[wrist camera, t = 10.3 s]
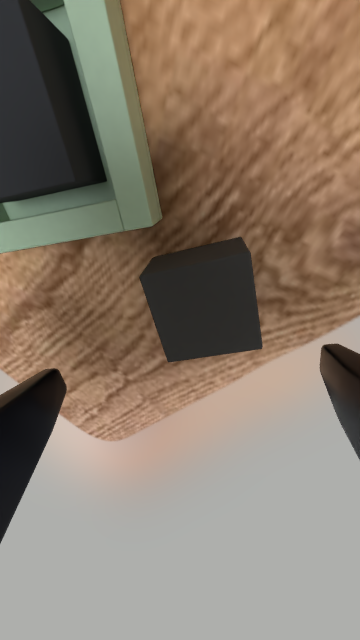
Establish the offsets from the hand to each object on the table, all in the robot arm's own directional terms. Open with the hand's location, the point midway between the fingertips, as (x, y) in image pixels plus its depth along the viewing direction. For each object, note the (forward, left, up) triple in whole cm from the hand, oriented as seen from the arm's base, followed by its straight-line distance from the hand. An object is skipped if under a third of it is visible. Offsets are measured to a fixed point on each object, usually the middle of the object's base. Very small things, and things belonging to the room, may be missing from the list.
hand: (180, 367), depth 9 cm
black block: (+1, 0, -6) cm, 6 cm away
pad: (-5, +8, -5) cm, 11 cm away
